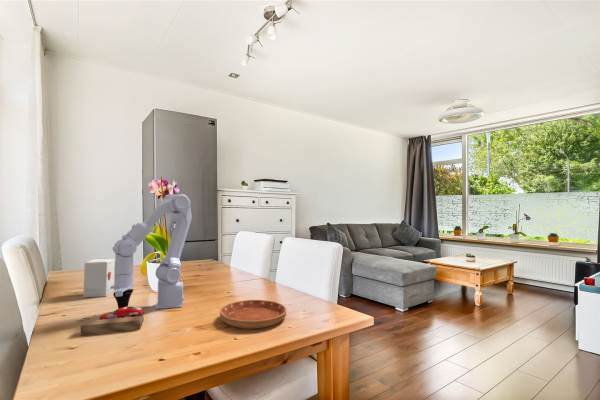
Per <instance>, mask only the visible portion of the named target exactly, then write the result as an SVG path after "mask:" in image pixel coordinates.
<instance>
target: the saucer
mask: <svg viewBox="0 0 600 400" xmlns="http://www.w3.org/2000/svg"><path fill="white" fill-rule="evenodd" d="M219 314H220V315H219V317H220V319H221V321H223V322H224V323H226V324H227V325H229V326H231V327H235V328H240V329H246V328H248V329H247V330H249V329H253V330H254V328H255V329H263V328H267V327H271V325H272V326H273V325H277V324H278V323H279V322H280V321H281V322H282V321H283V320H284V319H285V318H286V316H287V308H286V307H285V305H283V304H281V303H279V302H276V301H272V300H265V299H249V300H247V299H245V300H239V301H234V302H230V303H228V304H226V305H224V306H223V307H221V309H220V310H219Z"/></svg>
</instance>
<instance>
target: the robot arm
mask: <svg viewBox="0 0 600 400" xmlns="http://www.w3.org/2000/svg"><path fill="white" fill-rule="evenodd" d="M191 204H192V201H191V200H190V199H189V197H188V196H187V195H185V193H184V194H183V193H179V194H168V195H167V196H166V197H164V199H162V200H161V201H160V202H159V204H158V205H157V206H156V207H155V208H154V209H153V211H151V213H150V214H149V215H148V216H147V217H146V218H145V220H143V221H142V222H138V223H137V222H136V224H132V226H131V229H130V230H129V231H128V232H127V233H126V234H123V235H122V236H121V238H122V239H118V240H117V241H116V242H115V243H114V246H113V247H112V251H113V253H114V254H115V258H114V286H111V287H110V289H114V290H113V292H112V293H113V294H112V295H113V297H114V299H115V301H116V303H117V309H119V308H121V307H129V302H130V299H131V296H132V294H133V292H134V289H132V288H134V282H133V281H134V254H136V252H137V247H138V246H139V245H141V243H142V242H143V241H144V240H145V239H146V238H147V237H148V236H149V235H150V233H151V228H152V227H153V226H154V225H155V224H156V223H157V222H158V221H159V220H161V218H162V217H163V216H165V214H168V213H173V215H174V217H175V218H176V221H175V225H174V228H173V230H172V235H171V238H170V242H169V245H168V247H167V252H166V255H165V257H164V258H162V260H161V261H160V264H159V265H158V267H157V268H156V269H155V277H156V278H157V279H158V281H157V303H156V304H155V307H154V308H155V310H158V309H159V310H160V309H161V310H162V309H170V308H171V309H173V308H182V307H183V302H184V299H185V298H184V297H185V296H184V282H183V281H180V278H181V275H182V273H181V269H182V264H181V261H180V260H181V255H182V252H183V249H184V247H185V246H184V245H185V242H186V239H187V236H188V233H189V232H188V231H189V228H190V225H191V223H192V219H193V218H192V217H193V216H192V209H191Z"/></svg>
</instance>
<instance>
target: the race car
mask: <svg viewBox="0 0 600 400" xmlns="http://www.w3.org/2000/svg"><path fill="white" fill-rule="evenodd" d="M136 316H144V310H143V308H142V307H137V306H128V307H121V308H119V309H118V308H117V309H115V310H113V311H109V312H106V313H103V314H101V315H100V316H99V318H98V320H103V319H114V318H125V317H136Z"/></svg>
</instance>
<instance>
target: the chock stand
mask: <svg viewBox="0 0 600 400" xmlns="http://www.w3.org/2000/svg"><path fill="white" fill-rule="evenodd" d="M144 319H145V318H144V315H143V316H136V317H125V318H114V319H103V320H99V319H93V320H85V321H84V322H82V324H81V325H80V333H79V335H80V337H81V336H84V337H85V336H93V335H101V334H112V333H113V334H114V333H121V332H130V331H131V332H132V331H139V330H141V329H142V326H143V323H144Z"/></svg>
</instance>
